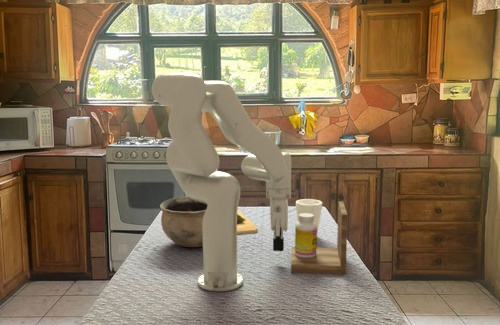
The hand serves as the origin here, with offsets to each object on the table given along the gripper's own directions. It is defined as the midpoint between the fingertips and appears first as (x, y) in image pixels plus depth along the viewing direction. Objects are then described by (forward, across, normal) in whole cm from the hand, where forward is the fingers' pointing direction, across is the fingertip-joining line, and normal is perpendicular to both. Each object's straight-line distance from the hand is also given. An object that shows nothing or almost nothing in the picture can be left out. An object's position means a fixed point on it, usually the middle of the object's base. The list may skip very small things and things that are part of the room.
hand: (278, 250), depth 158 cm
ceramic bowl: (+4, +15, +30) cm, 34 cm away
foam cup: (+4, +27, -10) cm, 29 cm away
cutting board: (+5, +43, +26) cm, 50 cm away
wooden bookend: (+4, 0, -12) cm, 13 cm away
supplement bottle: (+2, 0, -8) cm, 9 cm away
